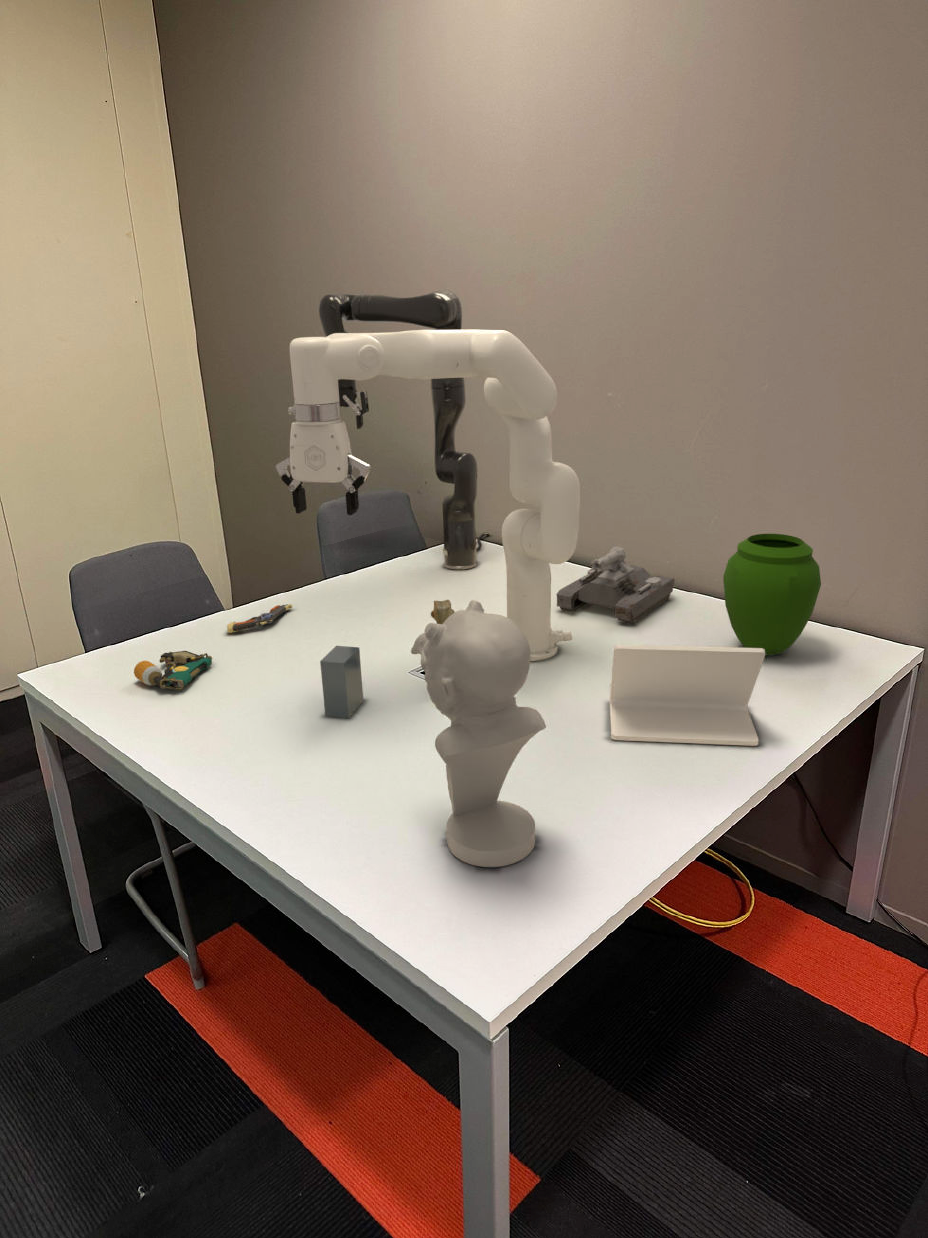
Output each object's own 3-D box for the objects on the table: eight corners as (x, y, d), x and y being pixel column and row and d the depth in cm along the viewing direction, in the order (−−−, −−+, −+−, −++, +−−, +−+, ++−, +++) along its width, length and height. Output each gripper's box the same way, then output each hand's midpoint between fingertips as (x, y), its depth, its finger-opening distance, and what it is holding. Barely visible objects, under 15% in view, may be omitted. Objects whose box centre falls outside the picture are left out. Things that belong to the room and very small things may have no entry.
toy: (603, 584, 229) (605, 530, 224) (673, 597, 218) (677, 540, 213) (555, 612, 210) (556, 553, 205) (630, 627, 199) (633, 566, 194)
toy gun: (223, 625, 202) (262, 621, 199) (256, 603, 219) (292, 600, 217) (225, 635, 202) (264, 632, 200) (258, 613, 220) (294, 610, 218)
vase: (820, 642, 188) (834, 534, 179) (800, 674, 173) (814, 558, 164) (732, 626, 198) (741, 524, 189) (705, 656, 183) (714, 546, 174)
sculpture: (458, 662, 183) (456, 596, 178) (460, 676, 176) (457, 608, 171) (431, 663, 183) (428, 597, 177) (431, 677, 176) (428, 609, 171)
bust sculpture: (481, 772, 140) (476, 569, 128) (565, 848, 120) (569, 617, 108) (392, 800, 134) (378, 588, 121) (465, 886, 114) (457, 642, 101)
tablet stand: (759, 746, 146) (769, 654, 140) (611, 740, 149) (614, 650, 143) (741, 699, 163) (749, 615, 157) (609, 695, 166) (611, 613, 160)
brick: (325, 716, 162) (319, 661, 158) (341, 698, 168) (336, 645, 164) (348, 718, 160) (344, 663, 156) (363, 700, 167) (359, 647, 163)
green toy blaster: (177, 659, 191) (231, 671, 185) (120, 684, 176) (176, 698, 171) (176, 641, 190) (230, 653, 184) (118, 665, 175) (174, 678, 169)
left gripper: (312, 371, 238) (317, 430, 244) (360, 370, 235) (364, 430, 241) (322, 368, 245) (327, 426, 251) (369, 368, 242) (373, 426, 248)
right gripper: (261, 416, 143) (272, 516, 149) (358, 416, 139) (365, 519, 145) (280, 410, 150) (290, 506, 156) (373, 411, 146) (380, 509, 152)
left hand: (345, 428), depth 246 cm, fingers open, 8 cm apart
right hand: (326, 512), depth 151 cm, fingers open, 9 cm apart
